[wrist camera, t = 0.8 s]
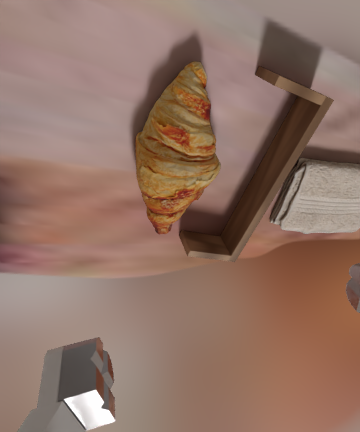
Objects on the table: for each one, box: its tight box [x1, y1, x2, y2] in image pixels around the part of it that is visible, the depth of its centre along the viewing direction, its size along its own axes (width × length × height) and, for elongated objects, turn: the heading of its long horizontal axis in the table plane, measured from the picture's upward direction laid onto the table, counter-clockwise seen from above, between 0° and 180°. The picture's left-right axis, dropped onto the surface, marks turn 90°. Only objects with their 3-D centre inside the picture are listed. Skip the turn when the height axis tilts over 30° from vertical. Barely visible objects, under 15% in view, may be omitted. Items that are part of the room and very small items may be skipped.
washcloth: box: [270, 158, 360, 234], centre depth 50 cm, size 12×18×3 cm, turn 78°
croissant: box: [135, 61, 221, 234], centre depth 37 cm, size 21×10×8 cm, turn 169°
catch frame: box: [179, 66, 334, 262], centre depth 42 cm, size 8×24×4 cm, turn 157°
